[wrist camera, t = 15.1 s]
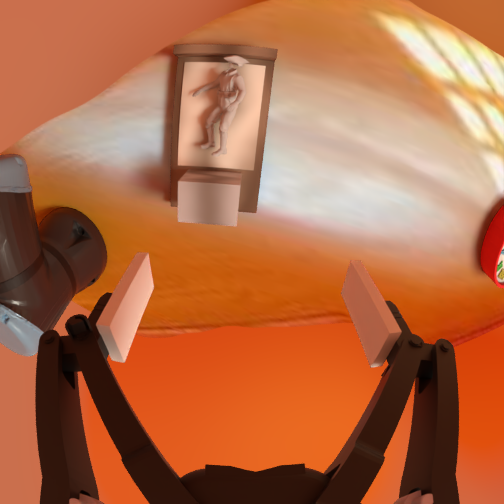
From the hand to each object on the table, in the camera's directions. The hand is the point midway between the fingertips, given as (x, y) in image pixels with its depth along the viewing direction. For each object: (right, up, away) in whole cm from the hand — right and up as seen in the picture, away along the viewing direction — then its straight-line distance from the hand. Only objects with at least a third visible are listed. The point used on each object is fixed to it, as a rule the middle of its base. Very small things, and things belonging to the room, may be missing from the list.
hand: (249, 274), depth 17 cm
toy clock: (+59, +5, +24) cm, 64 cm away
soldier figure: (-3, +19, +13) cm, 24 cm away
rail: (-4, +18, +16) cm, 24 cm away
